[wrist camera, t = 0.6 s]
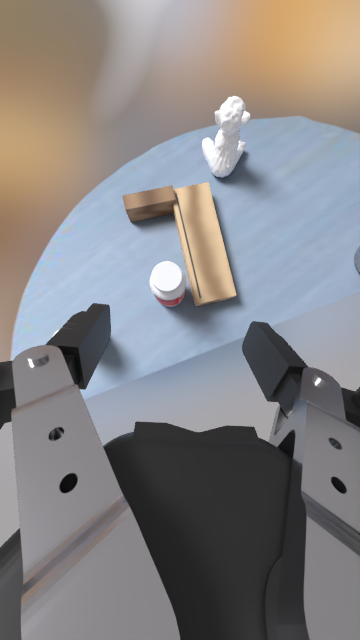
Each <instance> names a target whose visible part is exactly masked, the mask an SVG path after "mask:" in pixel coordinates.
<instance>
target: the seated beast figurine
mask: <svg viewBox="0 0 360 640" xmlns="http://www.w3.org/2000/svg"><path fill="white" fill-rule="evenodd" d="M245 109H246V107H245V104H244V103H243V101H242V99H241V98H239V97H238V96H236V97H235V96H233V97H229V98H228V99H227V101H226V102H225V103H224V104H222V105H221V107H220V110H218V111H216V112H215V119H216V123H217V124H219V128H220V130H219V131H218V133H217V136H216V138H215V145H214V142H213V141H212V140H211V139H210V138H208V137H207V138H205V139H204V140H203V142H202V149H203V154H204V155H205V158H206V161H207V163H208V166H209V168H210V170H211V172H212V174H214V175H215V176H216V177H221V178H223V177H225V176H228V175H230V173H231V172H232V171H233V170H234V167H235V166H236V164H237V162H238V160H239V158H240V157H241V155H242V154H243V151H244V149H245V146H246V144H245V142H242V141H239V139H240V136H239V132H240V130H239V129H240V127H241V126H242V125H243V124H246V123H247V122H248V120H249V118H250V114H249V113H248V112H246V111H245Z"/></svg>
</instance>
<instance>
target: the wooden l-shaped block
mask: <svg viewBox="0 0 360 640" xmlns="http://www.w3.org/2000/svg"><path fill="white" fill-rule="evenodd" d="M123 200H124V205H125V210H126V212H127V214H128V217H129V219H130V221H131V222H135V221H140V220H145V219H149V218H154V217H159V216H164V215H169V214H173V213H174V217H175V222H176V226H177V230H178V234H179V239H180V243H181V247H182V252H183V256H184V260H185V265H186V269H187V273H188V278H189V282H190V286H191V290H192V295H193V299H194V303H195V306H200V305H204V304H209V303H213V302H218V301H222V300H227V299H231V298H233V297H235V296H236V291H235V287H234V283H233V279H232V275H231V271H230V267H229V263H228V259H227V255H226V251H225V247H224V243H223V239H222V235H221V231H220V227H219V223H218V219H217V215H216V211H215V207H214V203H213V199H212V195H211V191H210V187H209V183H208V182H206V183H202V184H197V185H192V186H187V187H182V188H177V189H173V187H172V186H167V187H163V188H158V189H153V190H148V191H143V192H138V193H133V194H128V195H124V196H123Z"/></svg>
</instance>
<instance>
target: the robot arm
mask: <svg viewBox="0 0 360 640" xmlns="http://www.w3.org/2000/svg"><path fill="white" fill-rule="evenodd" d="M355 265H356V268H357V270H358V272H359V273H360V248H359V249H358V250H357V252H356V255H355ZM110 335H111V322H110V307H109V305H106V304H97V303H93V304H92V305H91V306H90V307H89V309H88V310H87V311H86V312H85V311H81V312H79V313H77V314H75V315H73V316H72V317H71V318H70V319H69V320H68V321H67V323H65V324H64V325H63V327H62V328H61V329H60V330H59V331H58V332H57V333H56V334H55V335H54V336H53V337H52V338H51V339H50V340H49V341H48V342H47V344H46V345H41V346H36V347H32V348H30V349H27V350H25V351H23V352H22V353H20V354H19V355H17V356H16V357H15V359H14V360H13V361H7V362H0V429H1V428H2V426H3V424H4V423H7V422H11V421H12V431H13V443H14V457H15V470H16V482H17V495H18V508H19V521H20V528H19V529H18V530H17V531H16V532H15V533H14V534H13V535H12V536H11V537H10V538H9V539H8V540H7V541H6V542H5V543H4V544H3V545H2V546H1V547H0V640H360V387H359V388H358V389H357V390H356V391H351V390H348V389H345V388H341V387H340V385H339V383H338V382H337V381H336V380H335V379H334V378H333V377H331V376H330V375H329V374H327V373H325V372H323V371H321V370H319V369H316V368H311V367H308V366H307V365H306V364H305V363H304V361H303V360H302V359H301V358H300V357H299V356H298V355H297V354H296V352H295V351H294V350H293V349H292V348H291V346H289V345H288V343H287V342H286V341H285V340H284V339H283V338H282V337H281V336H279V335H278V334H277V333H276V332H275V331H274V330H273V329H272V328H271V327H270V325H269V324H268V323H265V322H256V321H253V322H252V323H251V324H250V327H249V329H248V331H247V334H246V336H245V339H244V341H243V345H242V351H243V354H244V356H245V358H246V360H247V362H248V364H249V366H250V368H251V370H252V371H253V374H254V375H255V378H256V380H257V382H258V384H259V386H260V388H261V389H262V392H263V393H264V395H265V398H266V399H267V401H271V402H278V403H279V404H280V405H279V406H278V408H277V410H276V414H275V418H274V422H273V427H272V431H271V436H270V439H269V442H267V441H265V440H263V439H261V438H258V436H257V433H256V431H255V428H254V427H245V426H223V427H219V428H216V429H212V430H208V431H204V432H193V431H190V430H187V429H184V428H181V427H177V426H174V425H171V424H168V423H155V422H154V423H153V422H136V423H135V429H134V432H131V433H127V434H124V435H122V436H119V437H117V438H115V439H113V440H111V441H110V442H108V443H107V444H105V445H104V446H102V443H101V441H100V438H99V436H98V434H97V431H96V429H95V426H94V424H93V421H92V419H91V416H90V414H89V412H88V409H87V407H86V404H85V402H84V399H83V397H82V395H81V392H80V390H79V389H86V387H87V385H88V383H89V381H90V379H91V377H92V375H93V373H94V371H95V369H96V366H97V364H98V362H99V360H100V358H101V356H102V354H103V352H104V350H105V348H106V346H107V344H108V342H109V339H110Z"/></svg>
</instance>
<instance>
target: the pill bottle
mask: <svg viewBox="0 0 360 640" xmlns="http://www.w3.org/2000/svg"><path fill="white" fill-rule="evenodd" d="M150 287H151V290H152V292H153V293H154V295H155V297H156V298H157V300H158V301H159V302H160V303H161V304H162V305H164V306H167V307H173V306H176V305H178V304H179V303H180V302H181V301H182V300H183V298H184V295H185V289H186V278H185V275H184V273H183V271H182V270H181V269H180V268H179V267H178V266H177V265H176V264H174V263H172V262H168V261H167V262H161V263H159V264H158V265H156V266H155V268H154V269H153V271H152V275H151V277H150Z"/></svg>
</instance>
